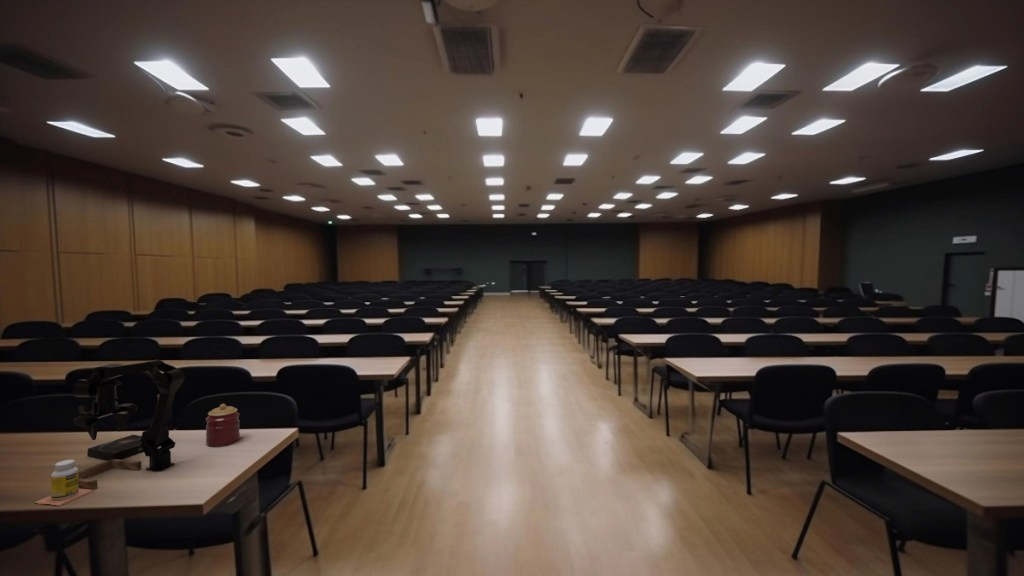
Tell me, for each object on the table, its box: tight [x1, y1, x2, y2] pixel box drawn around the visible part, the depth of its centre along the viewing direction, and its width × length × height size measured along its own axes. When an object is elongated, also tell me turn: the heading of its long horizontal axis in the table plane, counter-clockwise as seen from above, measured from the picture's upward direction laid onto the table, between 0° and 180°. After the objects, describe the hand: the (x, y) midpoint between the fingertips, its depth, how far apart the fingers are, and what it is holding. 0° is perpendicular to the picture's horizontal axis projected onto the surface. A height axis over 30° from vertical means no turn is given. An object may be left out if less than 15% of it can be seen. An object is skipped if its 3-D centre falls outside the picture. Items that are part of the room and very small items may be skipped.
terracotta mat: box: [34, 488, 94, 507], centre depth 145 cm, size 10×10×1 cm
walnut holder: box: [78, 459, 142, 491], centre depth 160 cm, size 14×17×3 cm
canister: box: [205, 403, 241, 447], centre depth 195 cm, size 13×13×18 cm
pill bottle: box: [50, 459, 79, 500], centre depth 145 cm, size 6×6×12 cm
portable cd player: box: [86, 434, 144, 462], centre depth 183 cm, size 16×17×4 cm
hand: (107, 435), depth 167 cm, fingers open, 9 cm apart
